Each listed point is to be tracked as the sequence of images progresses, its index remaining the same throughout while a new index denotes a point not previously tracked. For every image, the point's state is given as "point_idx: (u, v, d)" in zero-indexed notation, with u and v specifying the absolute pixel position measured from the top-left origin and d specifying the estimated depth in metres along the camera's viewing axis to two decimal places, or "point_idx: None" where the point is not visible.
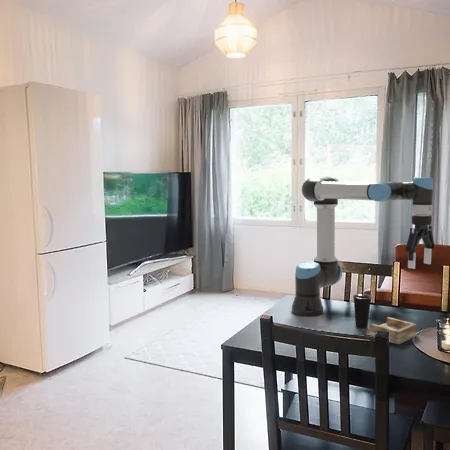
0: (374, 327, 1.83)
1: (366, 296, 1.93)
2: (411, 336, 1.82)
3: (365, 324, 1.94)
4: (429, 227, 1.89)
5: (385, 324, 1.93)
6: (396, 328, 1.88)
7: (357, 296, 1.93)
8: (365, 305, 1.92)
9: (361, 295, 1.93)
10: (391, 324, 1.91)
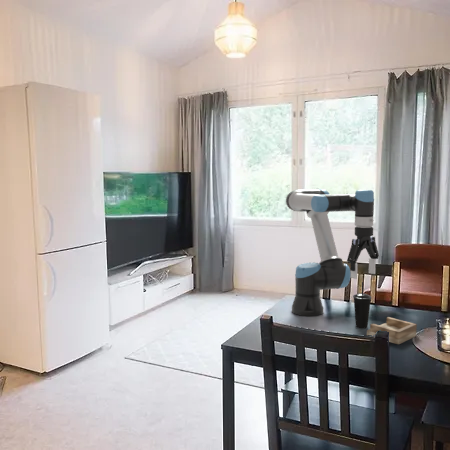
0: (374, 327, 1.83)
1: (366, 296, 1.93)
2: (411, 336, 1.82)
3: (365, 324, 1.94)
4: (372, 238, 1.95)
5: (385, 324, 1.93)
6: (396, 328, 1.88)
7: (357, 296, 1.93)
8: (365, 305, 1.92)
9: (361, 295, 1.93)
10: (391, 324, 1.91)
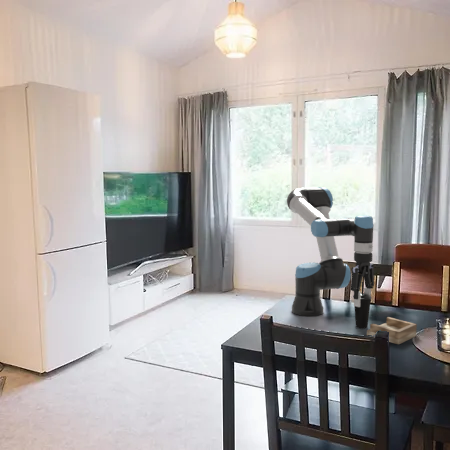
0: (374, 327, 1.83)
1: (366, 296, 1.93)
2: (411, 336, 1.82)
3: (365, 324, 1.94)
4: (371, 265, 1.96)
5: (385, 324, 1.93)
6: (396, 328, 1.88)
7: None
8: (365, 305, 1.92)
9: (361, 295, 1.93)
10: (391, 324, 1.91)
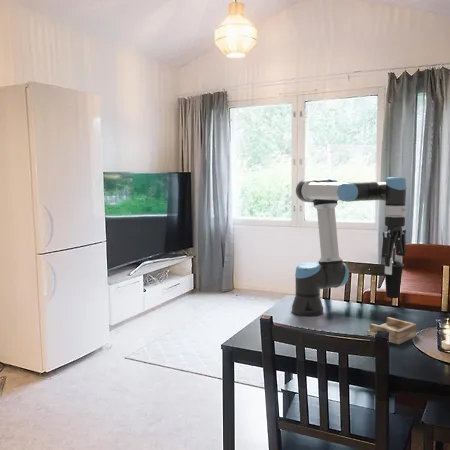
0: (374, 327, 1.83)
1: (398, 263, 1.80)
2: (411, 336, 1.82)
3: (397, 293, 1.81)
4: (403, 231, 1.84)
5: (385, 324, 1.93)
6: (396, 328, 1.88)
7: None
8: (397, 273, 1.80)
9: (393, 262, 1.81)
10: (391, 324, 1.91)
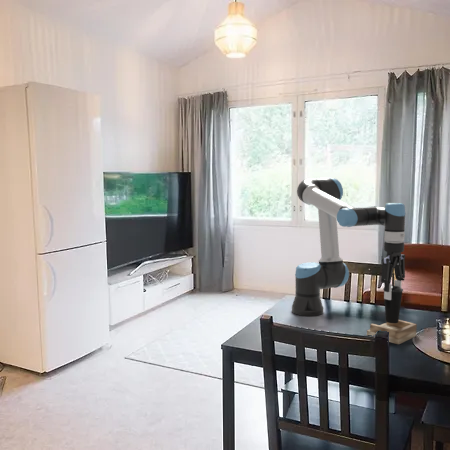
0: (374, 327, 1.83)
1: (397, 288, 1.81)
2: (411, 336, 1.82)
3: (396, 318, 1.82)
4: (402, 256, 1.85)
5: (385, 324, 1.93)
6: (396, 328, 1.88)
7: None
8: (397, 298, 1.81)
9: (392, 287, 1.82)
10: (391, 324, 1.91)
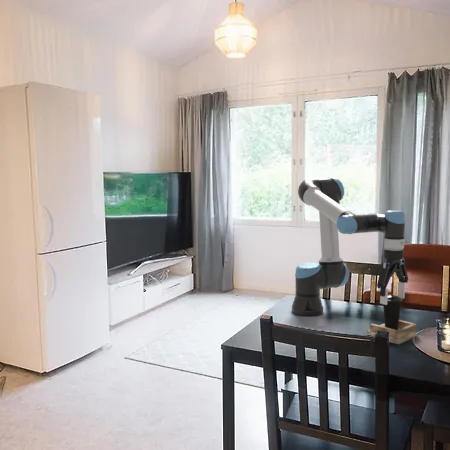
0: (374, 327, 1.83)
1: (396, 298, 1.82)
2: (411, 336, 1.82)
3: (395, 327, 1.83)
4: (402, 261, 1.85)
5: None
6: None
7: (387, 298, 1.83)
8: (396, 308, 1.81)
9: (391, 297, 1.82)
10: None
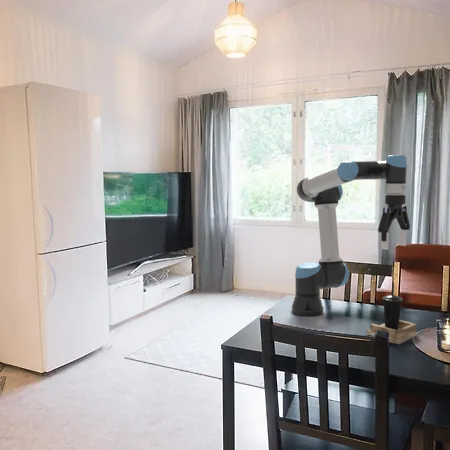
0: (374, 327, 1.83)
1: (397, 298, 1.82)
2: (411, 336, 1.82)
3: (396, 327, 1.83)
4: (404, 207, 1.83)
5: None
6: None
7: (387, 298, 1.83)
8: (396, 308, 1.81)
9: (391, 297, 1.82)
10: None
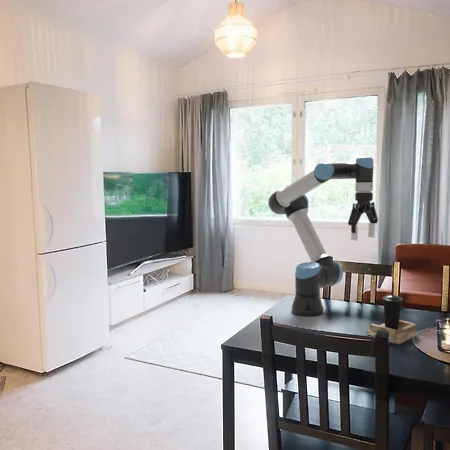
0: (374, 327, 1.83)
1: (397, 298, 1.82)
2: (411, 336, 1.82)
3: (396, 327, 1.83)
4: (372, 203, 2.07)
5: None
6: None
7: (387, 298, 1.83)
8: (396, 308, 1.81)
9: (391, 297, 1.82)
10: None
